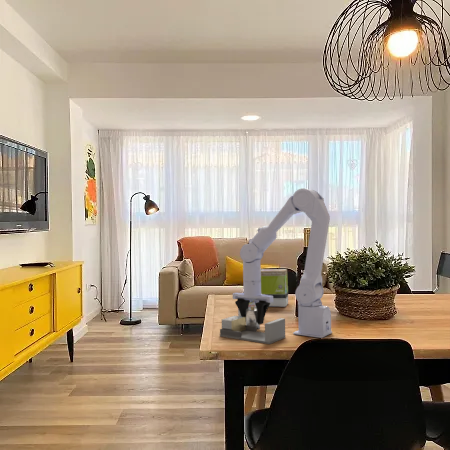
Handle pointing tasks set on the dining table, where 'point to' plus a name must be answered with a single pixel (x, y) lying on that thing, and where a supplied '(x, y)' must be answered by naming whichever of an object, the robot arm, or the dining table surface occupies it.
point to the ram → (234, 323)
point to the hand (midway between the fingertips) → (252, 322)
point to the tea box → (275, 286)
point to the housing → (252, 317)
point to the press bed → (271, 335)
